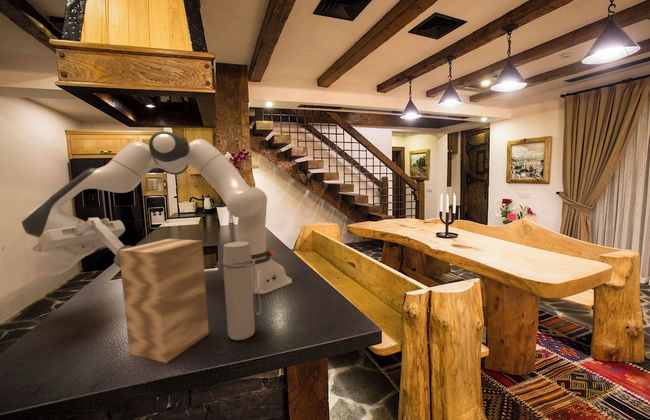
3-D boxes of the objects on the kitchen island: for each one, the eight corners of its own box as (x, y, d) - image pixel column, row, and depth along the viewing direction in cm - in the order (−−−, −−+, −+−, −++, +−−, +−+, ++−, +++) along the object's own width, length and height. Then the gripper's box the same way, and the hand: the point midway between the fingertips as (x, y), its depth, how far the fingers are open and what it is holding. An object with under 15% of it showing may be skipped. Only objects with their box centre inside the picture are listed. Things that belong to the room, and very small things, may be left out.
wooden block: (129, 353, 75) (119, 250, 72) (175, 327, 88) (168, 238, 85) (166, 363, 70) (156, 253, 68) (208, 333, 83) (202, 240, 81)
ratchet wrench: (79, 224, 82) (84, 212, 81) (102, 221, 88) (107, 209, 87) (122, 272, 78) (128, 260, 77) (144, 265, 84) (149, 254, 82)
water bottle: (229, 345, 77) (222, 248, 75) (226, 331, 84) (220, 243, 82) (265, 336, 81) (260, 244, 78) (259, 324, 88) (254, 239, 85)
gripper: (24, 241, 79) (49, 216, 74) (105, 228, 98) (129, 208, 93) (34, 262, 79) (60, 238, 74) (113, 246, 98) (138, 226, 93)
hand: (99, 221), depth 84 cm, fingers open, 2 cm apart
